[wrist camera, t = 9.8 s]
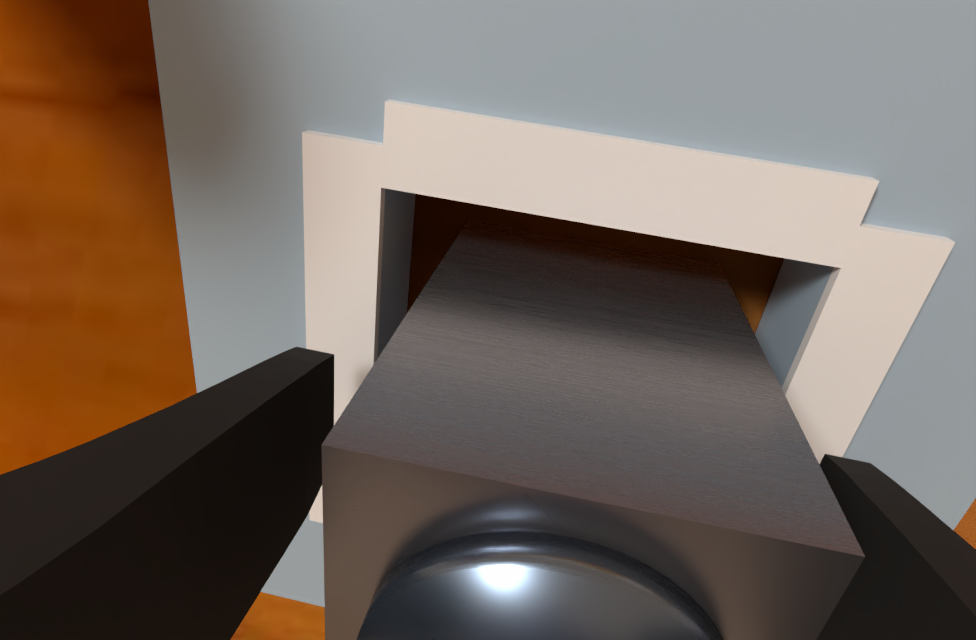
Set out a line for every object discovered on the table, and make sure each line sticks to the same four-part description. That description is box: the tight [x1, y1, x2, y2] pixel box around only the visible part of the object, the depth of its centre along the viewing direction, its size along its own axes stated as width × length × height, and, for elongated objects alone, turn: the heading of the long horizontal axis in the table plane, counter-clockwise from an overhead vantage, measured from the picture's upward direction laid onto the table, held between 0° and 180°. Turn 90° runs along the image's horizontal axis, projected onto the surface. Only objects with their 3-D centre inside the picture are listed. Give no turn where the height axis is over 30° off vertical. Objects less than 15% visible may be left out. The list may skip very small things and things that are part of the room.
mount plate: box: [148, 0, 976, 607], centre depth 11 cm, size 14×14×2 cm
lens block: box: [321, 221, 865, 640], centre depth 9 cm, size 4×4×7 cm
